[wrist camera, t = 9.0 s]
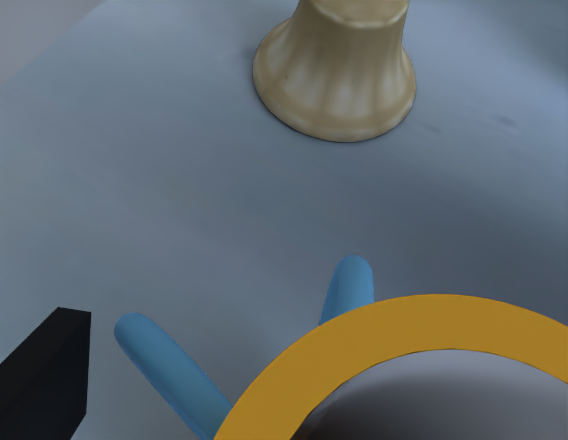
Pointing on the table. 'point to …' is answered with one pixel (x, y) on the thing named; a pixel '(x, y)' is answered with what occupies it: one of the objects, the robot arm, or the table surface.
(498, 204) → the table surface
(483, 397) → the cylinder
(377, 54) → the hand bell
